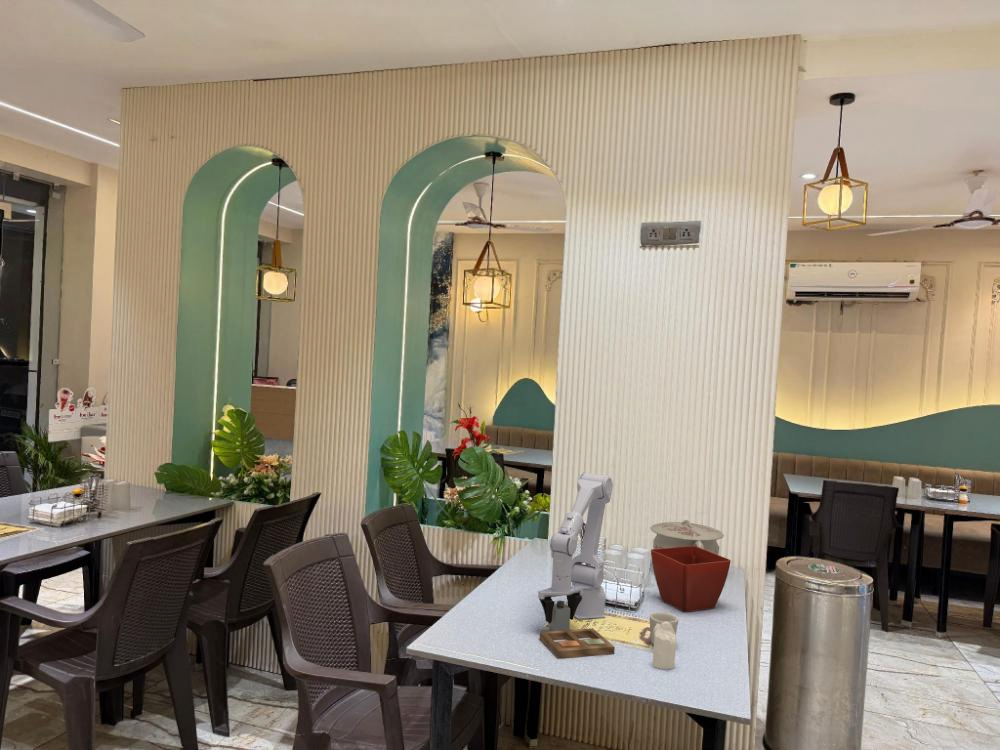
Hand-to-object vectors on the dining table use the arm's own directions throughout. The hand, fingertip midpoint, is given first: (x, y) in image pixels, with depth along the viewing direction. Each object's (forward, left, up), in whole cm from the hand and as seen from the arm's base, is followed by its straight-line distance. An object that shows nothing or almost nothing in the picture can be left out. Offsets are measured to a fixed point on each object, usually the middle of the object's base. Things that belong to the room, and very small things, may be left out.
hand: (559, 620), depth 219 cm
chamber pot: (-70, -46, -3) cm, 84 cm away
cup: (-24, +17, -3) cm, 30 cm away
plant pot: (-52, -14, -3) cm, 54 cm away
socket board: (0, +13, -3) cm, 13 cm away
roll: (-18, +29, -3) cm, 34 cm away
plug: (0, 0, -3) cm, 3 cm away
